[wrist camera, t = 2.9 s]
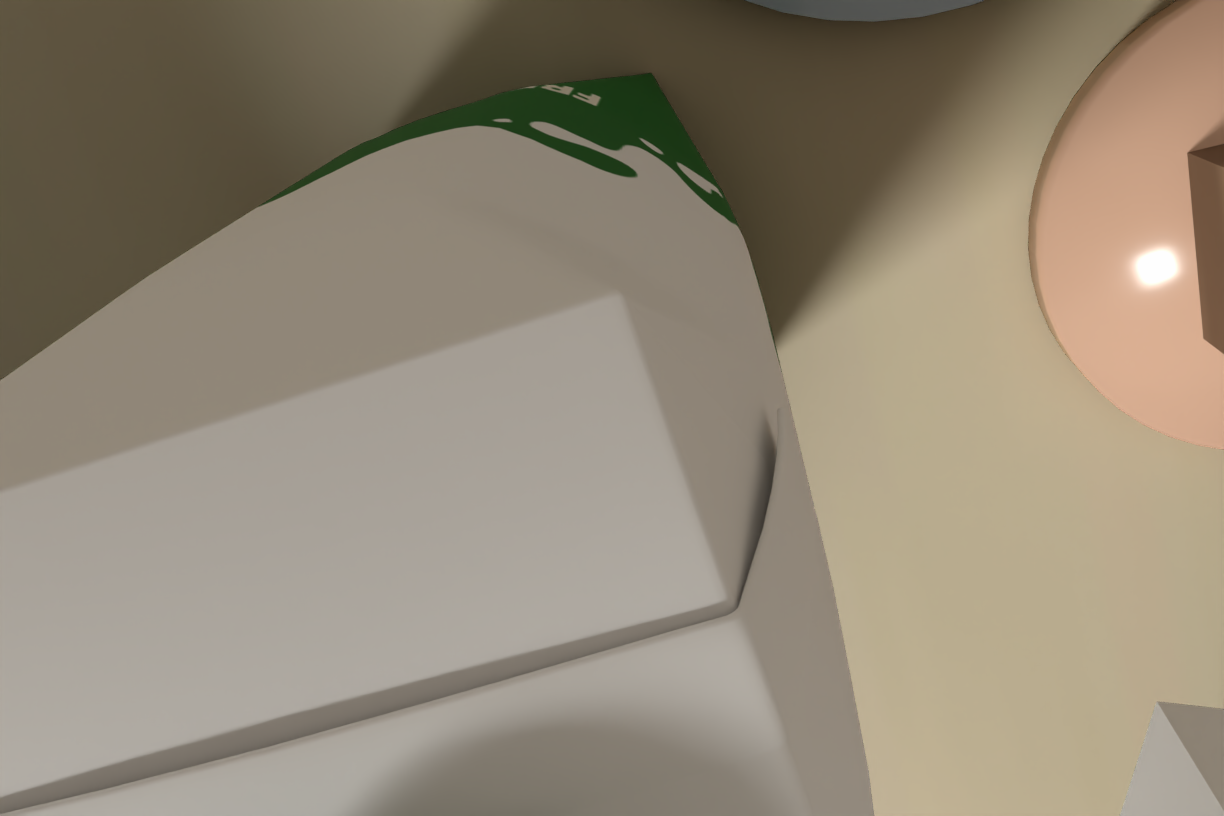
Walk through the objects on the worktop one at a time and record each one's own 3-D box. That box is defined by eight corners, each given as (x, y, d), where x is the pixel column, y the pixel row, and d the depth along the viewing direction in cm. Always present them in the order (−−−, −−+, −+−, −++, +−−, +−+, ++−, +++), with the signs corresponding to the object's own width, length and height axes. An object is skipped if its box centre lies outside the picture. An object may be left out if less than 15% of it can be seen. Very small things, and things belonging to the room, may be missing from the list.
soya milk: (450, 503, 28) (18, 1568, 10) (293, 145, 25) (-763, 700, 7) (801, 398, 27) (1078, 1416, 8) (679, 5, 24) (687, 224, 5)
